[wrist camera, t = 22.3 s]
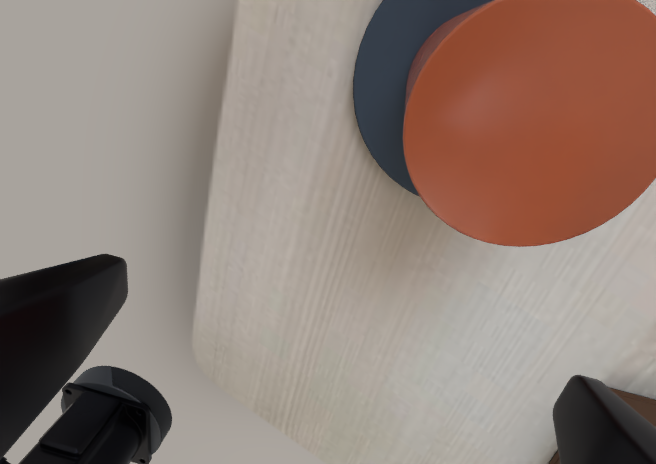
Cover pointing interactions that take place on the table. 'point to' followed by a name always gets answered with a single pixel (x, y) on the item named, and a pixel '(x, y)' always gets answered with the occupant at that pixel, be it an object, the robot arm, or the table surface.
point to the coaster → (394, 74)
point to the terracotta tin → (533, 117)
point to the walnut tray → (644, 406)
